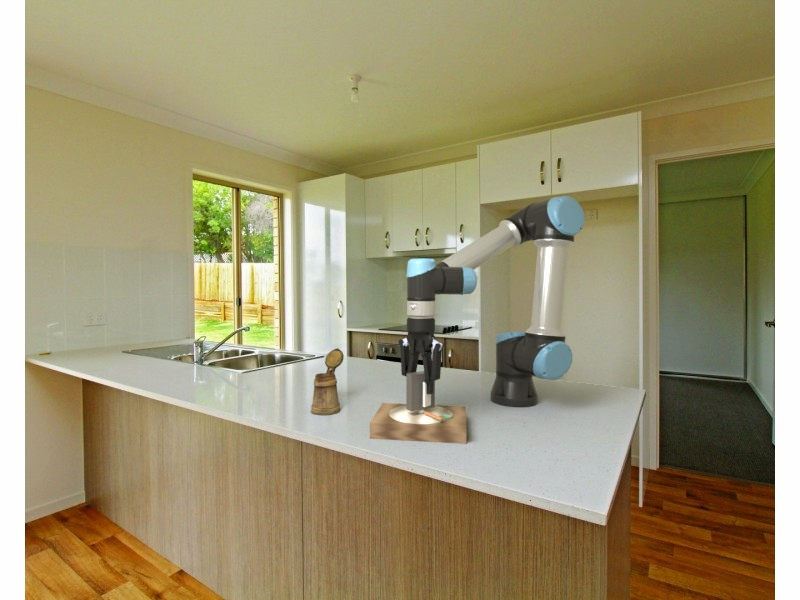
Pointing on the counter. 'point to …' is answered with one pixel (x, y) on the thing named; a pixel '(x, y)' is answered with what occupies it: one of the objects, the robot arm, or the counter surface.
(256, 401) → the counter surface
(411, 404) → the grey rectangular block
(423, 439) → the board
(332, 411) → the wooden mug
